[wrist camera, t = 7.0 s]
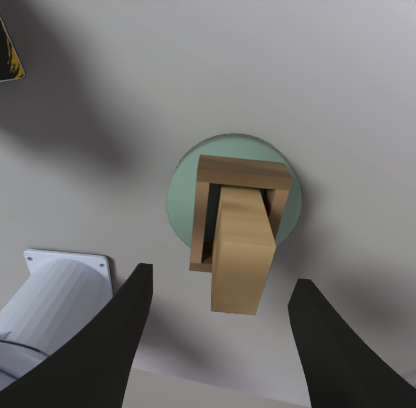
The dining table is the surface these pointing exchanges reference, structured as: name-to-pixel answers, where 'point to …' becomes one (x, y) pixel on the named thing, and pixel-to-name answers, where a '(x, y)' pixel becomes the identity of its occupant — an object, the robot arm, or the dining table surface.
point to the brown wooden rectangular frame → (239, 176)
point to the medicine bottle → (8, 58)
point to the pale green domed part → (186, 185)
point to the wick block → (240, 250)
